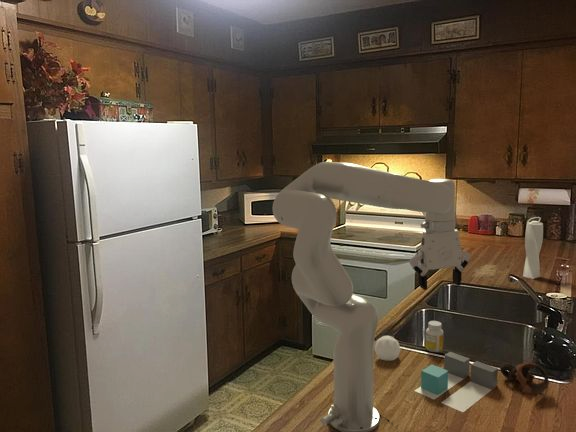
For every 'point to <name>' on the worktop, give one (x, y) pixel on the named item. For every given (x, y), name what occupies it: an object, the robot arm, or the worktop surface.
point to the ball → (387, 348)
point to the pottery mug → (525, 376)
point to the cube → (434, 379)
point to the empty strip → (474, 387)
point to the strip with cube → (451, 372)
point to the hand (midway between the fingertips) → (440, 286)
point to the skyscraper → (533, 248)
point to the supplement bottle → (434, 337)
